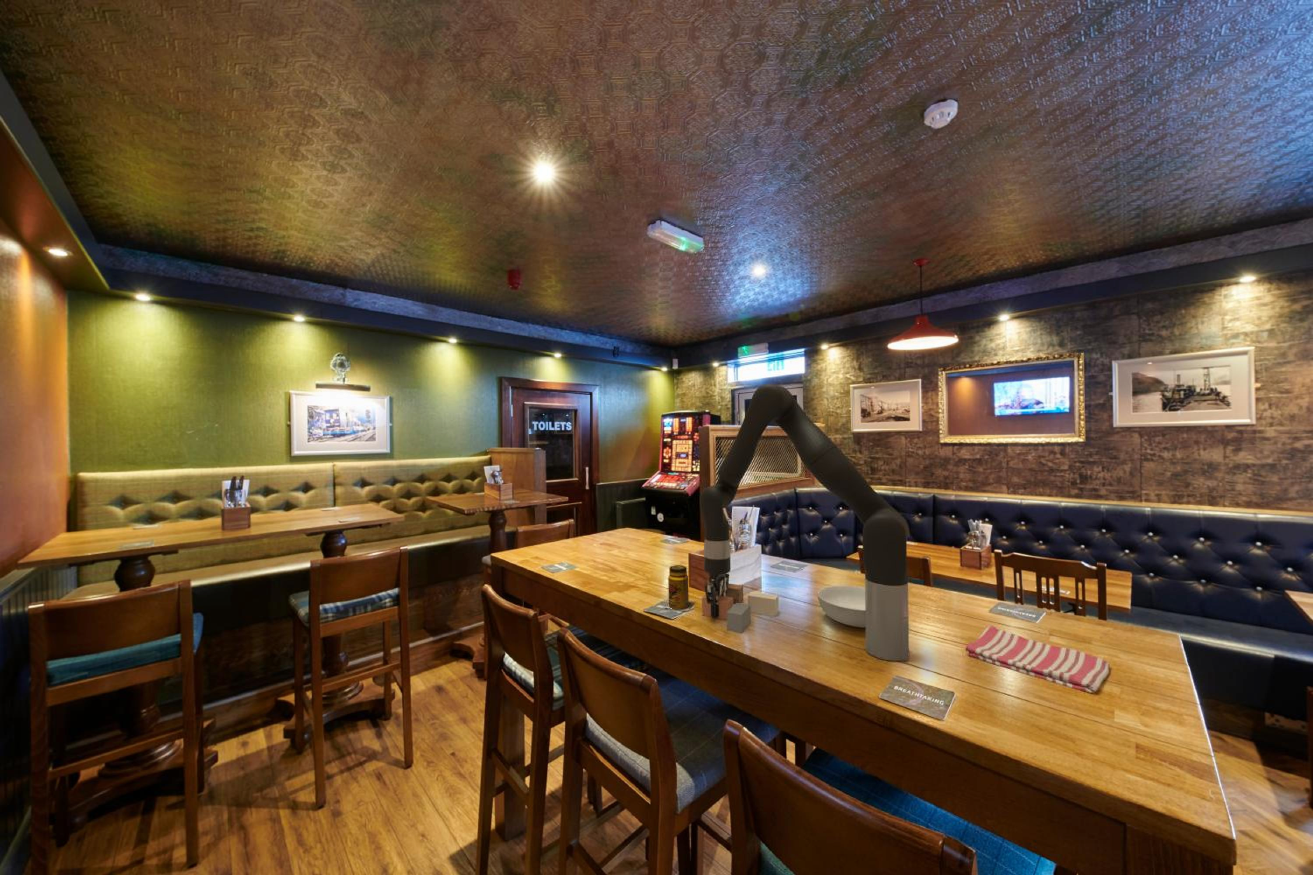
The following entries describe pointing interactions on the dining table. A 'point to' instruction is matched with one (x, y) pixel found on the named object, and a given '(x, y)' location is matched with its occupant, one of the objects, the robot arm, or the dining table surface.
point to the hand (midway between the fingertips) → (717, 613)
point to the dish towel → (1040, 659)
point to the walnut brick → (735, 593)
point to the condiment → (678, 588)
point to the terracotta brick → (724, 606)
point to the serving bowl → (844, 604)
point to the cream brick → (764, 603)
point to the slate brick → (738, 617)
